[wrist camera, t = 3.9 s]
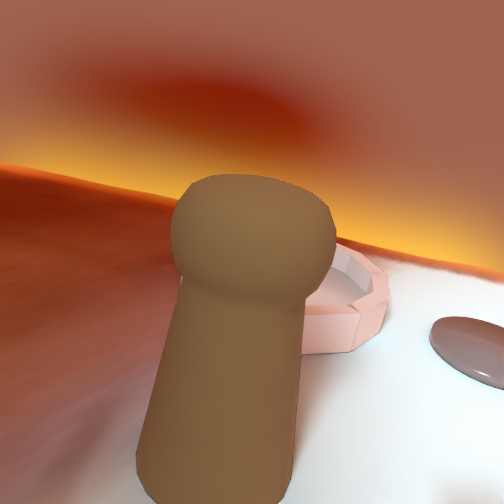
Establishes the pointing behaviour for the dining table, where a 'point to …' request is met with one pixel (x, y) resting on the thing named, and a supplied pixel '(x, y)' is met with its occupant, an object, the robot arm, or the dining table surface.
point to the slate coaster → (471, 348)
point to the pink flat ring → (345, 305)
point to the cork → (234, 341)
